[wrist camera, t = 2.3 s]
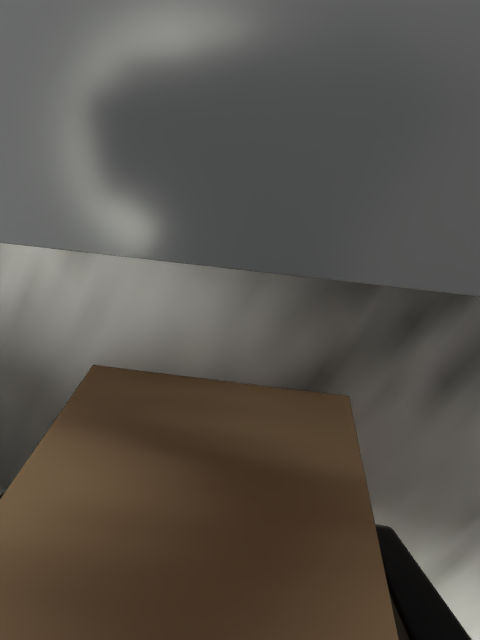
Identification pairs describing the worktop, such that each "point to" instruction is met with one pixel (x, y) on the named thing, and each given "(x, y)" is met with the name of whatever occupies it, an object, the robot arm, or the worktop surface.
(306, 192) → the slate slab
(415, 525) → the worktop surface
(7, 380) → the worktop surface
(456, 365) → the worktop surface
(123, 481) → the walnut cube
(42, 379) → the worktop surface
